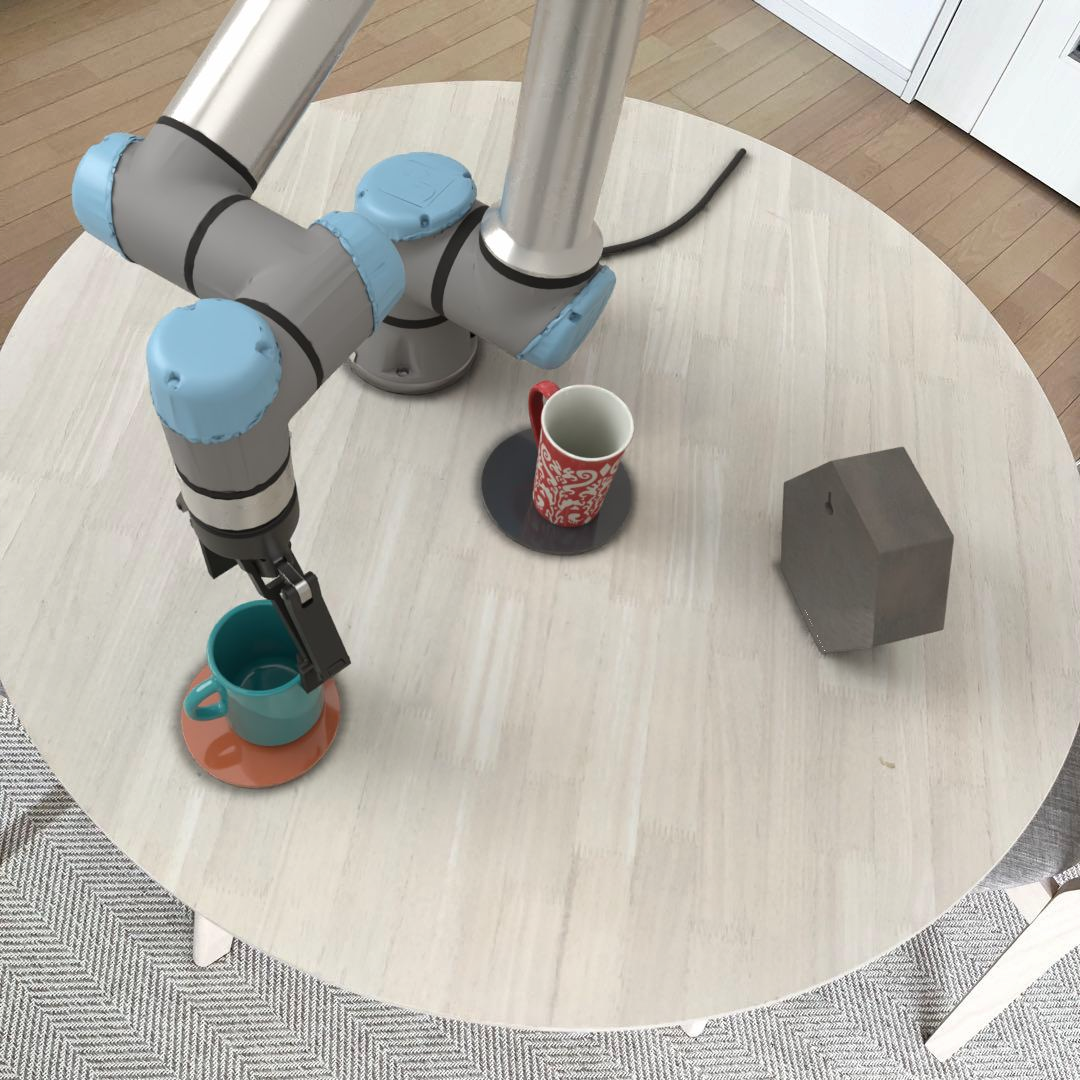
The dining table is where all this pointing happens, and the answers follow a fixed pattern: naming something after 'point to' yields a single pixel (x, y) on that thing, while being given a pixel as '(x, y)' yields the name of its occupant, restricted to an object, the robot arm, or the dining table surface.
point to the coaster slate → (519, 518)
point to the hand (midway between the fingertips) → (270, 623)
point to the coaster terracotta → (254, 762)
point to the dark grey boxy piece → (865, 551)
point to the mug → (576, 448)
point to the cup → (255, 678)
